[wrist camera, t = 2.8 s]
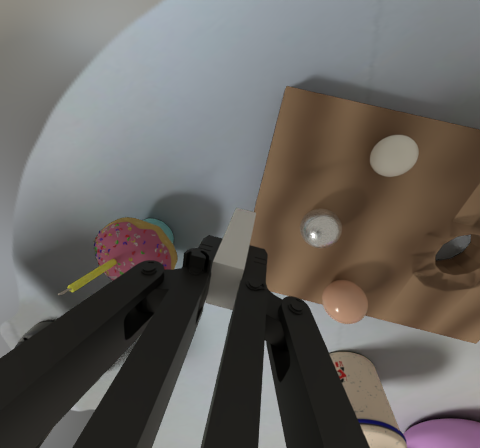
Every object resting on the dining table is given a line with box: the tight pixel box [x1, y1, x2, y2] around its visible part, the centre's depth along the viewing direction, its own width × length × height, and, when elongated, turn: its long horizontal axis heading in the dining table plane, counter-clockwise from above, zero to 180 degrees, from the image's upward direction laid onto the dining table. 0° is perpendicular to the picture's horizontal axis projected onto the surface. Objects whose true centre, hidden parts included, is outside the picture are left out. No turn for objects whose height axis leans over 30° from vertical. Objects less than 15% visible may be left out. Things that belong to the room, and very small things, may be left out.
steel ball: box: [300, 209, 342, 248], centre depth 20 cm, size 4×4×4 cm
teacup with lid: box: [330, 352, 407, 448], centre depth 29 cm, size 12×9×12 cm
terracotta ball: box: [322, 280, 368, 324], centre depth 22 cm, size 4×4×4 cm
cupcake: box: [58, 217, 178, 295], centre depth 22 cm, size 9×8×12 cm
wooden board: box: [250, 86, 480, 344], centre depth 22 cm, size 28×20×2 cm
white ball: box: [370, 135, 419, 177], centre depth 17 cm, size 3×3×3 cm
